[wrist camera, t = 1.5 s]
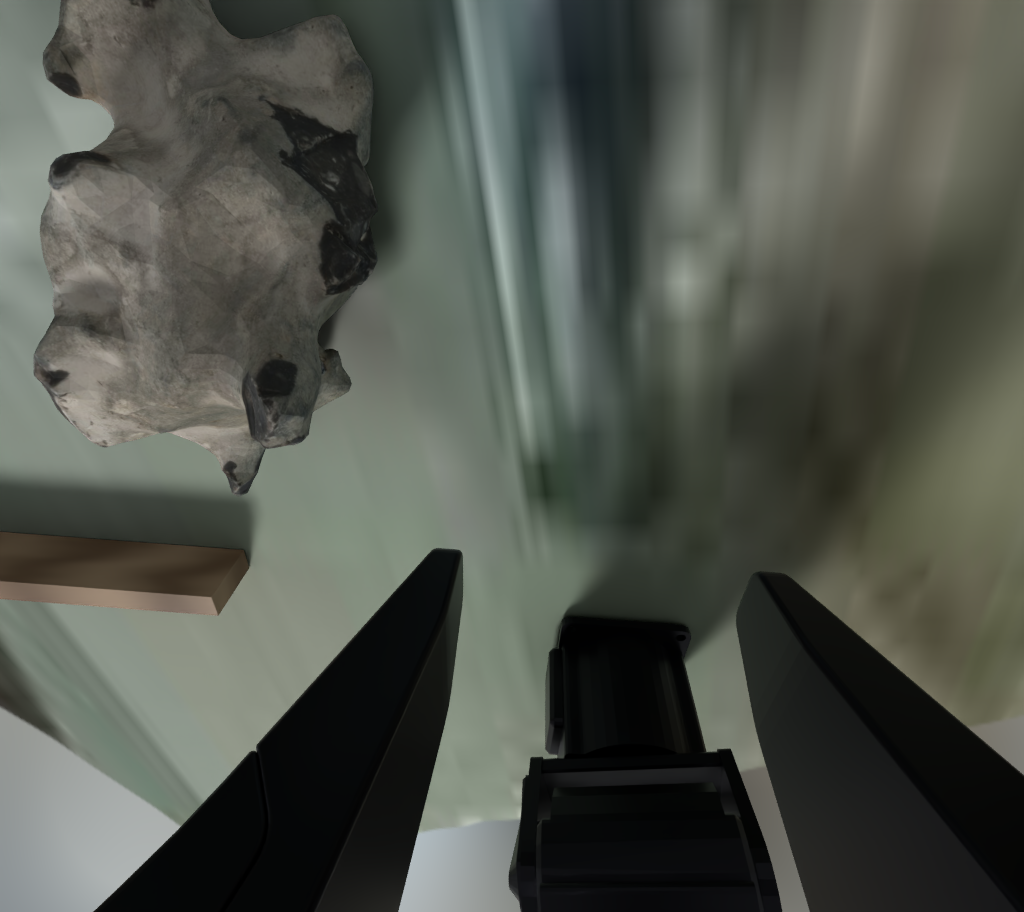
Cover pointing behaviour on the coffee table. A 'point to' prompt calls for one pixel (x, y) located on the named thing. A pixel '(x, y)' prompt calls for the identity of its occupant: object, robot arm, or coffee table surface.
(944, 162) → the coffee table surface
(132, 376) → the decorative stone
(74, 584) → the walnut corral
